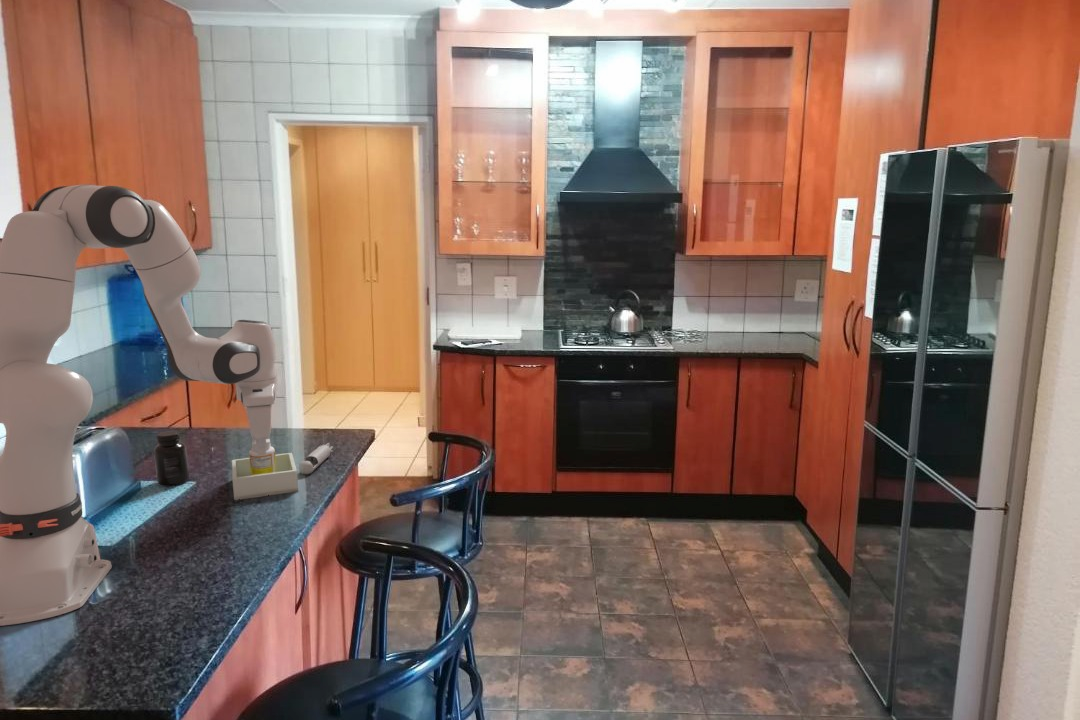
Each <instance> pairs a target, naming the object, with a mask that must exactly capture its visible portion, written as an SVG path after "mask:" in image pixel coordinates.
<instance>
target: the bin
mask: <svg viewBox="0 0 1080 720" xmlns="http://www.w3.org/2000/svg"><path fill="white" fill-rule="evenodd" d="M275 461H276V472H274V473H266V474H259V475H251V467H250V457H246V458H245V457H244V458H238V459H237V458H236V459H232V460H231V467H232V468H231V472H232V473H231V475H232V476H231V477H232V478H231V480H232V490H233V491H232V492H233V500H234V501H240V500H246V499H253V498H261V497H262V498H263V497H267V496H268V495H269V496H275V495H276V496H277V495H282V494H290V493H297V492H299V482H298V481H299V480H298V471H297V467H296V462H295V459H294V455H293V452H287V453H278V454H275ZM269 496H268V497H269ZM239 499H240V500H239Z"/></svg>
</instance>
